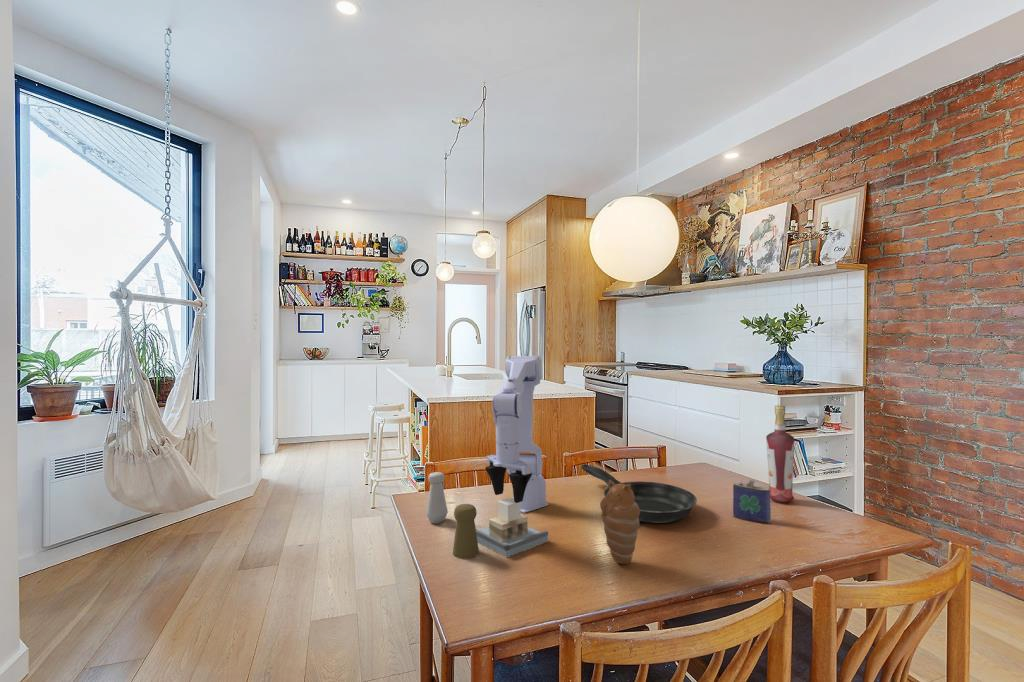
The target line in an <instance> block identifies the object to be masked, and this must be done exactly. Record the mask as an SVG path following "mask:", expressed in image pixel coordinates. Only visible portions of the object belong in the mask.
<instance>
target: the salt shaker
mask: <svg viewBox="0 0 1024 682" xmlns="http://www.w3.org/2000/svg"><path fill="white" fill-rule="evenodd" d="M427 477H428V482H429V483H430V485H429V490H428V491H429V492H428V498H427V504H426V511H425V512H426V513H425V514H426V517H427V518H428V520H429V522H430V523H431V524H441V523H444V522H445V520H446V517H447V515H448V512H449V511H448V506H447V500H446V496H445V491H444V486H443V482H444V481H445V474H444V473H443V472H440V471H436V472H435V471H433V472H431V473H429V474H428V476H427Z"/></svg>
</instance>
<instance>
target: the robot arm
mask: <svg viewBox="0 0 1024 682" xmlns="http://www.w3.org/2000/svg"><path fill="white" fill-rule="evenodd" d="M504 365H505V366H504V367H505V368H504V369H505V371H504V372H505V375H506V376H507V378H505V379H504V381H503V383H502V385H501V388H500V390H499V393H496V395H494V396H493V398H492V403H491V405H492V406H491V409H492V415H493V424H494V425H495V454H490V455H486V463H487V464H488V465H487V466H485V471H486V472H487V474H488V476H489V479H490V482H491V485H492V489H493V493H494V495H495V496H498V495H503V493H504V489H505V488H504V487H505V476H506V471H507V473H508V477H509V479H510V482H511V486H512V499H514V502H515V503H518V502H520V506H521V513H528V512H531V511H534V510H538V509H541V508H543V507H544V508H545V507H547V506H548V505H549V503H546V502H547V487H546V486H547V483H546V479H545V478H544V476H543V475H542V472H543V463H544V462H543V451H542V449H541V447H539V445H537V444H536V443H535V442H534V441H533V438H534V437H533V436H534V435H533V432H534V428H533V425H534V424H533V423H534V391H535V388H536V386H538V385H540V384H541V381H542V359H541V357H540V356H539V355H525V356H524V355H521V356H520V355H513V356H512V355H508V356H507V357H506V359H505V363H504Z"/></svg>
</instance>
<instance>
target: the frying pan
mask: <svg viewBox="0 0 1024 682" xmlns="http://www.w3.org/2000/svg"><path fill="white" fill-rule="evenodd" d="M581 469H582V470H583V472H584V471H585V473H587V474H589V475H591V476H592V477H594V478H596V479H599V480H601V481H602V482H604V483H605V485H607V487H606V488H605V489H604V491H603V495H604V497H606V495H607V493H608V491H609V480H611V481H613V482H614V483H615V484H625V485H627V484H631V490H632V491H633V493H634V499H635V502H636V503H637V505H638V507H639V509H640V514H639V516H638V519H639V522H642V523H650V524H665V523H671V522H676V521H679V520H681V519H683V518H685V517H687V515H688V514H689V513H690V512H691V511H692V509H693V507H695V505H696V504H697V502H698V500H697V497H696V495H694V493H692V492H691V491H690V490H688V489H687V490H686V489H684V488H681V487H679V486H675V485H673V484H672V485H671V484H668V483H667V484H666V483H661V482H656V481H655V482H654V481H625V482H620V481H619V480H618V479H616V477H614V476H613V475H611V474H610V473H608V472H607V471H605V470H603V469H601V468H600V467H597V466H594V465H591V464H586V463H584V464H581Z"/></svg>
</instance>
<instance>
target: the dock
mask: <svg viewBox="0 0 1024 682" xmlns="http://www.w3.org/2000/svg"><path fill="white" fill-rule="evenodd" d="M476 535H477V542H478V544H480V545H482V546H484V547H486V548H487V549H489V550H491V549H492V550H491V551H493V550H494V552H495V551H496V552H495V553H497V552H498V553H497V554H499V553H500V554H499V555H501V554H502V555H501V556H503V557H505V556H506V557H507V558H509V557H508V556H510V557H512V556H514V555H513V554H515V555H517V554H520V553H522V552H521V551H523V552H525V551H527V550H526V549H528V550H530V549H533V548H535V547H538V546H541V545H543V544H546V543H548V542H549V531H548V530H546V529H545V530H543V531H539V530H536V529H535V528H532V527H529V526H528V533H526V534H523V535H522V534H520V533H518V537H515V538H511V537H509V536H507V540H506V541H504V542H501V541H499V540H497V539H495V538H493V537H491V536H489V526H487V527H484V528H481V529H477V528H476ZM545 542H546V543H545ZM542 543H543V544H542ZM540 544H541V545H540ZM537 545H538V546H537ZM534 546H535V547H534ZM532 547H533V548H532ZM529 548H530V549H529ZM524 550H525V551H524ZM519 552H520V553H519ZM516 553H517V554H516ZM511 555H512V556H511ZM506 557H505V558H506Z"/></svg>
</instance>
